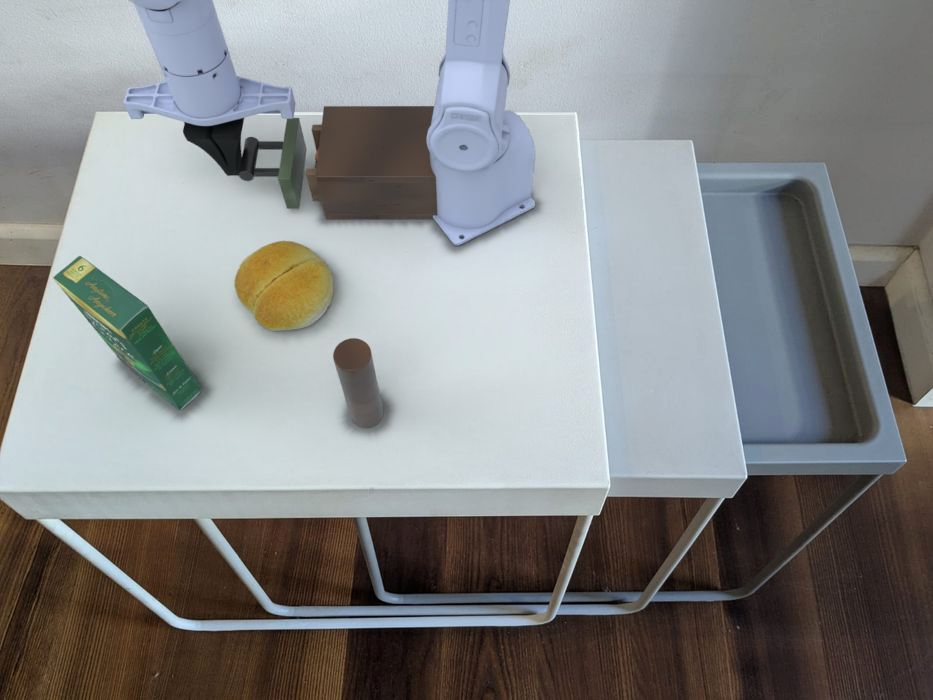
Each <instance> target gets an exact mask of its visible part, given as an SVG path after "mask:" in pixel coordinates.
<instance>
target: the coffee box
mask: <svg viewBox="0 0 933 700" xmlns="http://www.w3.org/2000/svg"><path fill="white" fill-rule="evenodd" d="M52 279H53V281H54V283H56V284H57V285H58V287H59V288H60V289H61V290H62V291H63V292H64V294H65V295H66V296H67V297H68V299H69V300H70V301H71V303H73V305H74V306H75V307H76V309H78V311H79V312H80V313H81V314H82V316H83V317H84V318H85V319H86V320H87V322H88V323H89V324H90V325H91V327H92V328H93V329H94V331H96V333H97V334H98V335H99V336H100V337H101V339H102V340H103V341H104V342H105V344H106V345H107V346H108V347H109V348H110V350H111V351H112V352H113V354H115V356H116V357H117V358H118V359H119V361H120V362H121V364H123V365H124V366H125V367H127V369H129V370H130V371H131V372H132V373H134V374H135V375H136V377H138V378H139V379H141V380H142V381H143V382H144V383H146V385H148V386H149V387H150V388H151V389H152V390H154V391H155V392H156V393H157V394H159V396H161V397H162V398H163V399H164V400H165V401H166V402H168V403H170V404H171V405H172V406H173V407H174V408H176V409H177V410H178V411H182V410H183V409H184V408H186V407H187V406H188V405H189V404H190V403H191V402H192V401H194V399H196V398H197V396H198V395H200V393H201V392H202V390H203V389H202V386H201V385H200V383H199V382H198V381H197V379H196V377H195V376H194V375H193V373H192V371H191V370H190V368H189V367H188V365H187V364H186V362H185V361H184V359H183V358H182V356H181V355H180V353H179V352H178V350H177V348H176V347H175V346H174V344H173V342H172V341H171V340H170V338H169V336H168V334H167V333H166V331H165V330H164V328H163V327H162V325H161V324H160V322H159V320H158V319H157V318H156V316H155V314H154V313H153V311H152V310H151V308H150V307H149V305H148V304H146V303H145V302H144V301H142V300H141V299H139V298H138V296H136V295H134V294H133V293H132V292H130V291H129V290H128V289H127V288H125V287H124V286H122V285H121V284H120V283H118V282H117V281H116V280H114V279H113V278H111V277H110V276H109V275H107V274H106V273H105V272H104V271H102V270H101V269H100V268H98V267H96V266H95V265H94V264H93V263H92V262H90V261H88V260H87V259H86V258H85V257H83V256H81V255H78V256H77V257H76V258H75V259H73V260H72V261H71V262H70V263H69V264H68V265H66V266H65V267H64V268H63V269H60V270H59V272H57V273H56V274H55V275H54V276H53V277H52Z"/></svg>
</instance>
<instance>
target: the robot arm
mask: <svg viewBox="0 0 933 700" xmlns="http://www.w3.org/2000/svg"><path fill="white" fill-rule="evenodd" d="M128 1H129V2H131V3H133V5H134V7H135V10H136V12H137V15H138V18H139V20H140V22H141V23H142V27H143V28H144V32H145V33H146V36H147V38H148V40H149V43H150V45H151V48H152V50H153V53H154V55H155V57H156V61H157V63H158V65H159V67H160V69H161V72H162V74H163V77H164V80H165V81H161V82H157V83H152V84H148V85H143V86H142V85H141V86H131V87H127V89H126V92H125V96H124V98H123V102H122V104H123V105H124V108H125V110H126V111H127V114H128V116H129V118H130V119H131V120H142V119H144V117H145V115H158V116H162V117H164V118H168V119H172V120H176V121H179V122H183V128H182V134H183V136H184V138H185V139H186V141H187V142H189V143H191V144H193V145H194V146H197V147H198V148H200V149H201V150H203V151H204V152H205V153H206V154H208V156H209V157H211V158H212V159H213V161H214V162H215V163H216V164H217V165H218V166H219V167H220V169H221V170H222V171H223V172H224V174H225V175H226V176H227V177H228V176H230V177H232V176H233V177H239V171H240V165H241V160H242V154H243V153H242V132H243V127H244V121H245V119H246V118H248V117H249V118H250V117H253V116H256V115H261V114H262V115H266V114H267V115H269V114H270V115H273V114H274V115H275V114H276V115H280V117H281V118H282V119H283V120H287V119H293V118H295V117H294V116H295V109H296V105H297V104H296V100H295V95H294V92H293V88H292V87H291V86H279V85H273V84H269V83H266V82H261V81H258V80H254V79H250V78H247V77H243V76H238V75H237V72H236V70H235V66H234V63H233V60H232V57H231V54H230V51H229V50H230V49H229V47H228V44H227V42H226V39H225V36H224V32H223V28H222V26H221V23H220V19H219V16H218V13H217V10H216V7H215V3H214V1H213V0H128ZM510 4H511V0H448V1H447V21H446V34H445V35H446V38H445V52H444V55H443V56H442V58H441V61H440V62H439V66H438V83H437V88H436V94H435V99H434V105H433V106H434V110H433V115H432V121H431V126H430V127H429V129H428V133H427V141H426V142H427V147H428V149H429V152H430V164H431V168H432V171H433V173H434V174H435V176H436V190H437V215H433V219H432V220H434V221H435V223H436V224H437V225H438V226H439V227H440V229H441V231H442V232H443V233H444V234H445V235H446V237H447V238H448V239H449V240H450V242H451V243H452V245H454V246H461V245H463V244H465V243H467V242H469V241H471V240H473V239H475V238H477V237H479V236H481V235H483V234H485V233H487V232H489V231H491V230H493V229H494V228H497V227H498V226H501V225H502V224H505V223H506V222H508V221H511V220H512V219H514V218H516V217H518V216H521V215H522V214H524V213H526V212H529V211H530V210H532V209H534V208H535V207H536V201H535V200H534V198H533V197H532V190H533V181H534V173H535V164H536V148H535V143H534V140H533V137H532V134H531V131H530V130H529V127H528V126H527V124H526V123H525V121H524V120H523V119H522V117H520V115H519V114H517V113H516V112H515V111H513V110H511V109H506V103H507V93H508V86H509V85H510V80H511V79H510V78H511V70H510V66H509V64H508V61H507V59H506V57H505V54H504V47H505V40H506V33H507V26H508V18H509V11H510Z"/></svg>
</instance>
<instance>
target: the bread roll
mask: <svg viewBox="0 0 933 700" xmlns="http://www.w3.org/2000/svg"><path fill="white" fill-rule="evenodd" d="M334 288H335V287H334V278H333V273H332V271H331V268H330V267H329V265H328V264H327V262H325V261H324V259H322V258H321V257H320V256H319V255H318V254H317V253H315V252H314V251H313V250H312V249H310V248H309V247H308V246H306V245H303V244H301V243H298V242H294V241H291V240H279V241H274V242H272V243H271V242H270V243H268V244H266V245H264V246H261V247H260V248H259V249H257V250H255V251H254V252H252V253H251V254H250V255H248V256H246V257H245V258H244V259H243V260H242V261H241V262H240V264H239V266H238V269H237V270H236V274H235V277H234V289H235V292H236V295H237V298H238V299H239V301H240V302H241V304H242V305H243V306H245V308H247V310H249V311H250V312H251V313H252V314H253V315H254V318H255V320H256V322H257V323H258V324H259V325H260V326H261V327H263V328H264V329H266V330H268V331H274V332H278V331H279V332H280V331H290V330H298V329H303V328H307V327H310V326H311V325H313V324H314V323H316V322H317V321H319V319H320V318H321V317H322V316H323V315H324V314H325V313H326V311H327V309H328V308H329V306H330V305H331V302H332V299H333V295H334Z"/></svg>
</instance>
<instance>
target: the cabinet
mask: <svg viewBox="0 0 933 700" xmlns="http://www.w3.org/2000/svg"><path fill="white" fill-rule="evenodd" d="M433 110H434V105H352V106H351V105H344V106H343V105H325V106H323V109H322V119H321V125H322V127H321V135H320V144H319V152H318V161H317V169H316V180H317V185H318V189H319V193H320V197H321V201H320V202H321V205H322V209H323V213H324V218H325V220H434V219H433V215H437V190H436V176H435V174H434V173H433V171H432V168H431V164H430V152H429V149H428V147H427V142H426V141H427V133H428V129H429V127H430V126H431V121H432V115H433Z"/></svg>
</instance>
